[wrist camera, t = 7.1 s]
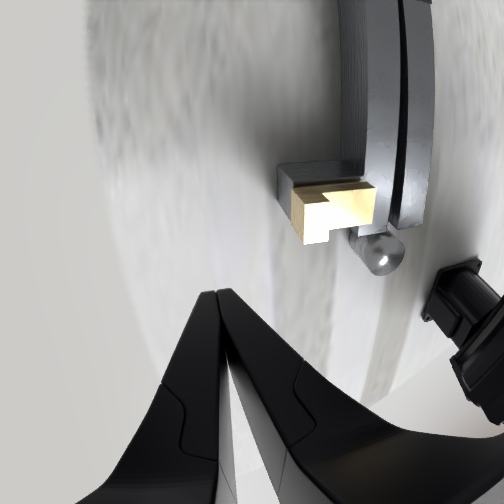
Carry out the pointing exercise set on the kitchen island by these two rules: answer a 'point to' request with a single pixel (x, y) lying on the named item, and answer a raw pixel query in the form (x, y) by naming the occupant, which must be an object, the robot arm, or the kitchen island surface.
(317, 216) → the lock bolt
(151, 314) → the kitchen island surface
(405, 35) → the tong arm
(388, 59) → the tong base
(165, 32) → the kitchen island surface
